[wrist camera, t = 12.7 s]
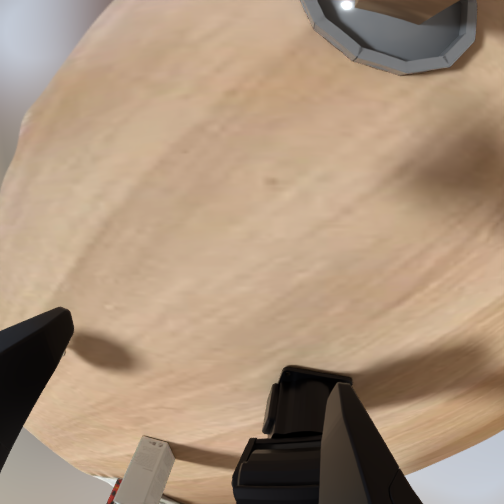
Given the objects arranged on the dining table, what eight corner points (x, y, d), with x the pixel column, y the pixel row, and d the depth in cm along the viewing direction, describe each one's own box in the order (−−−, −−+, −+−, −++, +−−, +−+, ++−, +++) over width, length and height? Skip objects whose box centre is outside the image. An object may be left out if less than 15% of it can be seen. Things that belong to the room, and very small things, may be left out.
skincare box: (141, 434, 38) (111, 500, 27) (168, 441, 37) (141, 511, 27) (151, 452, 40) (126, 512, 30) (176, 459, 40) (153, 522, 29)
